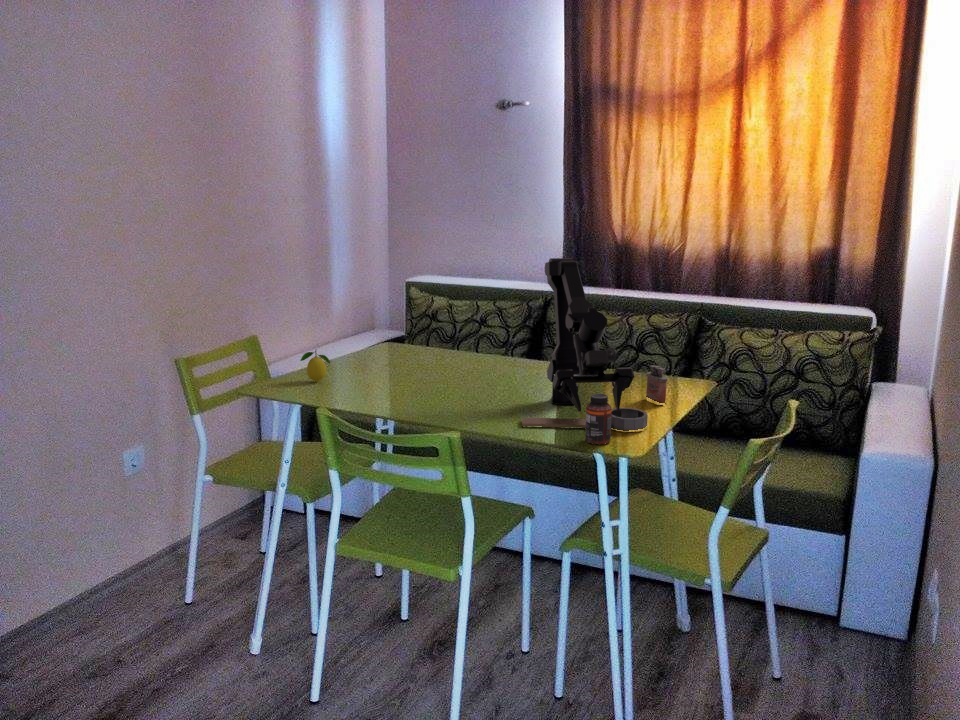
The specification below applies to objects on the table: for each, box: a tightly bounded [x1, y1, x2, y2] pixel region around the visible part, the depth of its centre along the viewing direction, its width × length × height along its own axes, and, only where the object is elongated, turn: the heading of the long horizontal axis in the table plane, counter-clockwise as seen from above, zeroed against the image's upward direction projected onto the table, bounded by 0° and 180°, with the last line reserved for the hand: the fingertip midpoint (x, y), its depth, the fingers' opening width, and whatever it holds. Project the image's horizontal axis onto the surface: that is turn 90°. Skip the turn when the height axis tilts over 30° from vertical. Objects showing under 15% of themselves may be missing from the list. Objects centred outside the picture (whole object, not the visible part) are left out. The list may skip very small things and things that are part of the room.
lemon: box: [299, 350, 331, 383], centre depth 266 cm, size 7×6×10 cm
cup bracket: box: [521, 407, 649, 431], centre depth 229 cm, size 31×10×4 cm, turn 87°
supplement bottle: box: [585, 393, 613, 445], centre depth 217 cm, size 6×6×11 cm
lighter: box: [645, 365, 669, 403], centre depth 250 cm, size 8×3×10 cm, turn 21°
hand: (599, 410), depth 216 cm, fingers open, 9 cm apart
